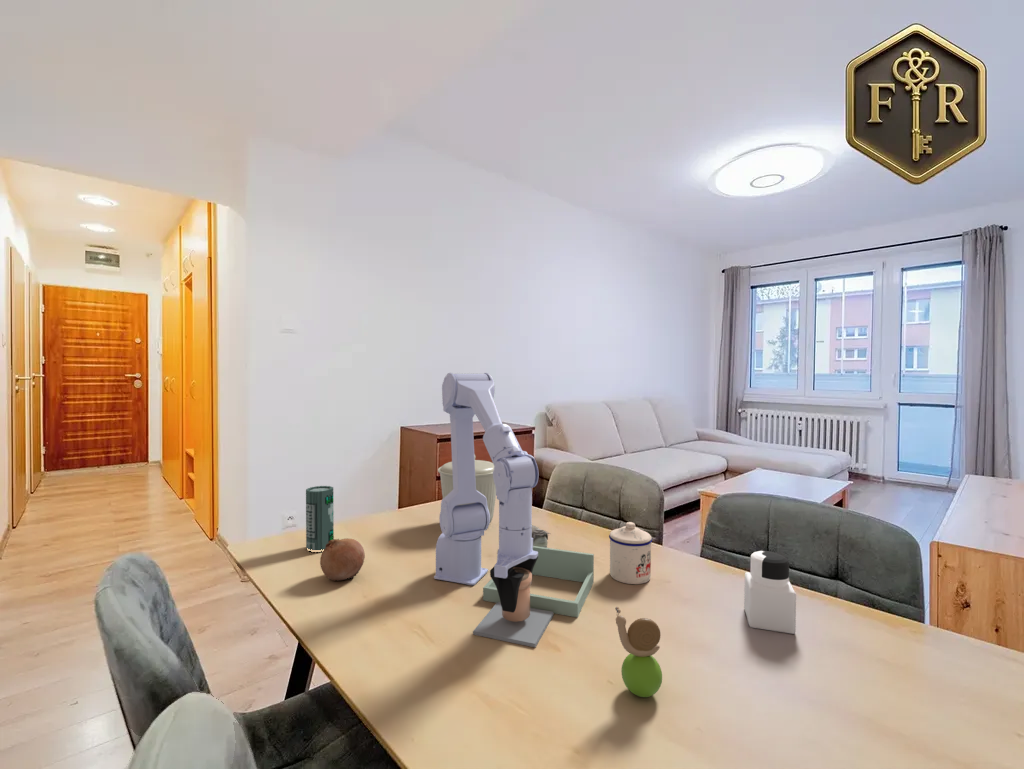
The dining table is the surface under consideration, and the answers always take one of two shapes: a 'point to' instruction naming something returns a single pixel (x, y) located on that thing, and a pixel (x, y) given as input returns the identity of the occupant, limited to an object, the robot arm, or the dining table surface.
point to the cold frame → (560, 567)
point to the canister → (482, 481)
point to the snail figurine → (640, 655)
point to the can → (319, 517)
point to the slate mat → (514, 626)
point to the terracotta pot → (521, 598)
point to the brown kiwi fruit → (342, 559)
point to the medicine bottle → (770, 593)
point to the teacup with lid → (630, 554)
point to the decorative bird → (539, 537)
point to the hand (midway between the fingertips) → (514, 602)
